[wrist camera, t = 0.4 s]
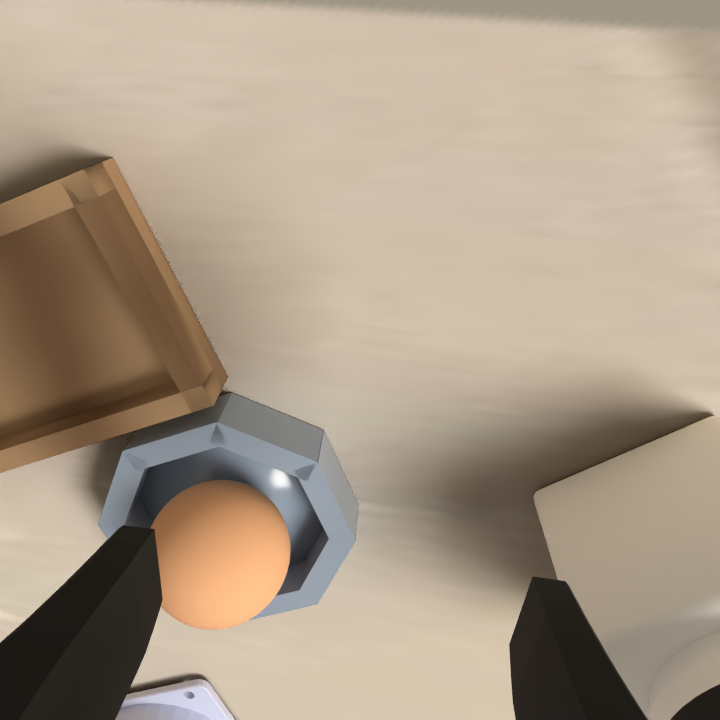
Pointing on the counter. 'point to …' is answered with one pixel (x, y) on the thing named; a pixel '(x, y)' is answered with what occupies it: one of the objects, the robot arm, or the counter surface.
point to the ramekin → (249, 466)
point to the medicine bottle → (648, 565)
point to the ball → (220, 554)
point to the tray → (91, 322)
